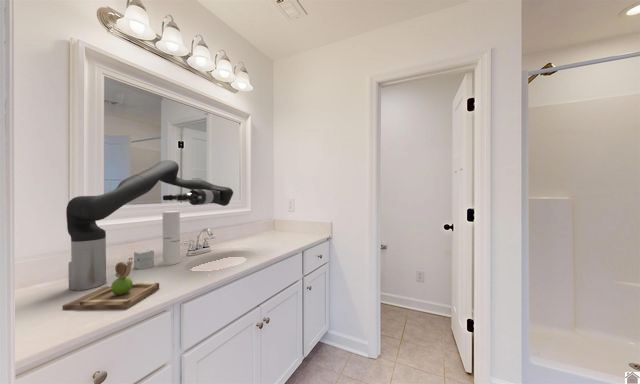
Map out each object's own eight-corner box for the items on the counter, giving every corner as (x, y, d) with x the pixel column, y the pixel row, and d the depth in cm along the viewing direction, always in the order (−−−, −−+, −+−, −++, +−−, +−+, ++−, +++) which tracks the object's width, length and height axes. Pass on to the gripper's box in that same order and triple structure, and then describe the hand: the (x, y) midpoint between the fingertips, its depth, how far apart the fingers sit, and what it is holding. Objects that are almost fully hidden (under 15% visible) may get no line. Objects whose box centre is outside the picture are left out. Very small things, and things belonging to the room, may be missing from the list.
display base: (62, 309, 70) (62, 302, 70) (105, 289, 84) (105, 283, 84) (127, 308, 70) (127, 301, 70) (159, 289, 84) (159, 282, 84)
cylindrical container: (165, 261, 118) (165, 211, 118) (181, 260, 120) (181, 210, 120) (160, 265, 111) (160, 212, 111) (178, 264, 113) (177, 212, 113)
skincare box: (133, 267, 109) (133, 251, 109) (149, 264, 114) (148, 248, 114) (139, 269, 105) (138, 253, 105) (154, 266, 110) (154, 250, 110)
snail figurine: (123, 298, 73) (122, 260, 73) (106, 297, 75) (106, 259, 75) (139, 291, 79) (139, 255, 79) (123, 290, 80) (123, 254, 80)
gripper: (190, 189, 119) (158, 189, 104) (212, 189, 115) (182, 188, 99) (190, 204, 119) (158, 206, 104) (212, 204, 115) (182, 206, 99)
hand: (170, 197), depth 102 cm, fingers open, 8 cm apart
